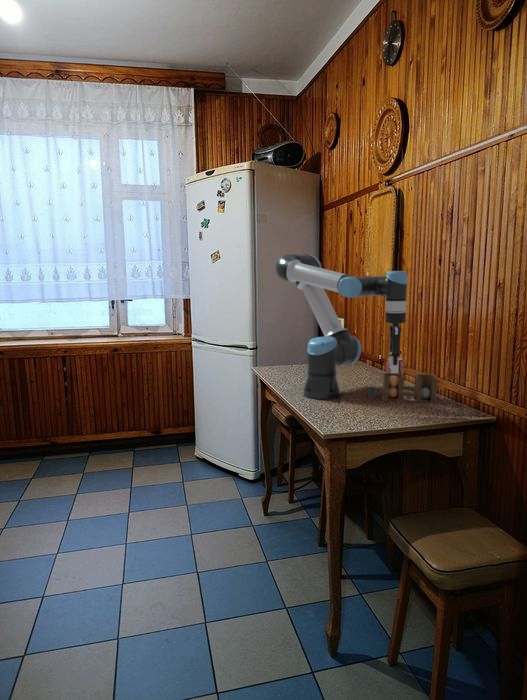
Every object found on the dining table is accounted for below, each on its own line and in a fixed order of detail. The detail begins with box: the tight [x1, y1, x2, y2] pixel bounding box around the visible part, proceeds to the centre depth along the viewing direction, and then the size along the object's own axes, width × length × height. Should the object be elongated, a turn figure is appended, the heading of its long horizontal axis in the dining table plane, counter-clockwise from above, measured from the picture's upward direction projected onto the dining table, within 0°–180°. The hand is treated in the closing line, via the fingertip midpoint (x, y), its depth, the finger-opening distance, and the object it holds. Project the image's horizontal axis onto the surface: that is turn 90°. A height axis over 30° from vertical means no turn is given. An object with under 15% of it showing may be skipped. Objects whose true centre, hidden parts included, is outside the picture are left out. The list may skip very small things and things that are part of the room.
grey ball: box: [421, 388, 431, 399], centre depth 180 cm, size 4×4×4 cm
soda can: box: [385, 357, 404, 375], centre depth 201 cm, size 7×7×13 cm
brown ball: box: [389, 376, 399, 387], centre depth 182 cm, size 4×4×4 cm
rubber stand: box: [367, 387, 377, 399], centre depth 184 cm, size 3×3×4 cm
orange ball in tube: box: [389, 387, 398, 398], centre depth 183 cm, size 4×4×4 cm
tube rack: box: [381, 372, 438, 403], centre depth 181 cm, size 20×7×10 cm, turn 79°
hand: (393, 370), depth 181 cm, fingers open, 8 cm apart
